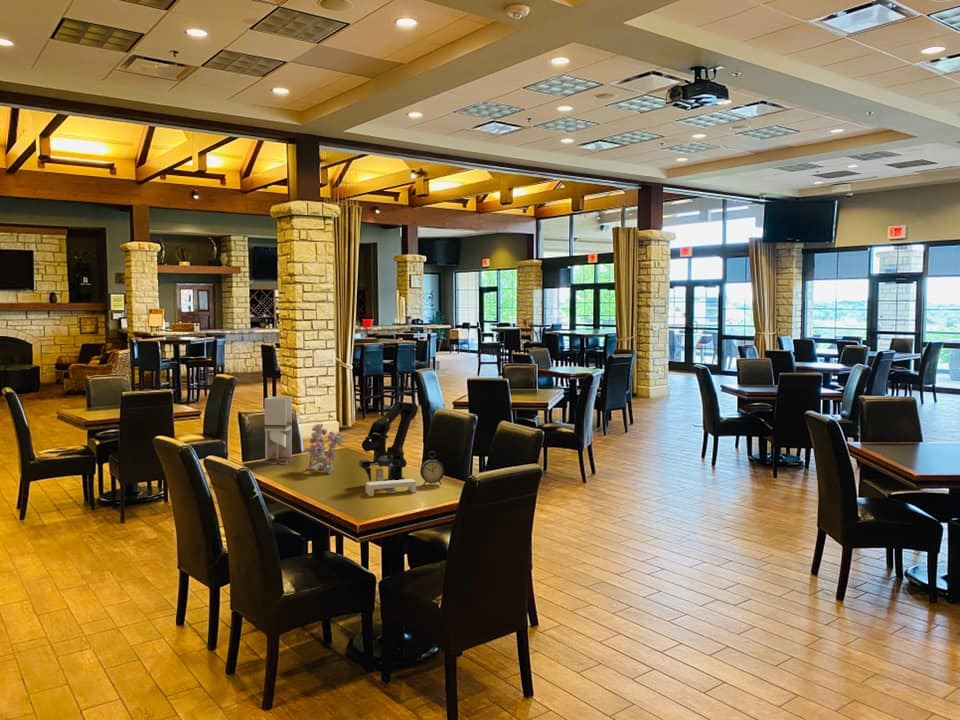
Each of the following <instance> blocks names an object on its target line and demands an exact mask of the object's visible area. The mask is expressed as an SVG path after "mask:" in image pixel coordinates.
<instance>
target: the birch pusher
mask: <svg viewBox="0 0 960 720" xmlns="http://www.w3.org/2000/svg"><path fill="white" fill-rule="evenodd" d="M377 481H384V469H383V468H382V467H380V468H375V482H377ZM383 489H388V490H394V489H393V488H383ZM377 491H383V490H382V489H377Z"/></svg>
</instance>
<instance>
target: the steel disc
mask: <svg viewBox="0 0 960 720" xmlns="http://www.w3.org/2000/svg"><path fill="white" fill-rule="evenodd" d="M387 493H395V494H396V493H397V490H396V489H388V490H385V494H387Z"/></svg>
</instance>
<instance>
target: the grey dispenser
mask: <svg viewBox="0 0 960 720" xmlns="http://www.w3.org/2000/svg"><path fill="white" fill-rule="evenodd" d="M292 400H293V398H292V396H270V397H266V398H264V433H265V434H264V435H265V436H264V439H265V440H264V441H265V442H264V445H265V447H264V449H265V451H264V452H265V454H264V458H265V459H264V464H265V463H287V462H288V461H289V460H291V459H292V456H293V455H292V452H293V451H292V449H293V447H292V445H293V443H292V441H293V440H292V437H293V433H292V430H293V428H292V424H293V423H292V421H293V420H292V415H293V414H292V412H293V411H292V410H293V409H292V407H293V406H292V403H293V402H292ZM292 460H293V459H292ZM287 464H288V463H287Z"/></svg>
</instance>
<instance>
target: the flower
mask: <svg viewBox="0 0 960 720" xmlns="http://www.w3.org/2000/svg"><path fill="white" fill-rule="evenodd" d="M314 424H315V425H314V426H312V427H311V430H312V433H310V434H311V438H310V439H309V444H310V445H309V447H305V448H304V449H303V450H302V452H301V453H300V455H301V454H306V453H309V454H310V457H309V465H308V466H307V468H308V469H312V470H314V469H318V470H320V471H321V472H324V474H331V473H332V472H334V471H335V468H333V467H334V466H333V461H334V460H335V455H336V454H337V450H335V449H336V446H343V443H345V442H344V440H345V438H344V435H342V434H343V433H342V432H338V433H334V432H333V431H330V432H328V430H327V429H326V428H323V427H324V424H323V423H322V422H321V423H318V424H317V423H316V422H315V423H314ZM327 434H328V436H327V440H325V441H324V439H323V436H326V435H327ZM328 442H331V443H329V444H328V449H327V447H325V443H328ZM326 450H328V451H326ZM328 459H329V460H328ZM314 461H315V462H314ZM313 462H314V463H313ZM331 471H332V472H331ZM329 472H330V473H329Z"/></svg>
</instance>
